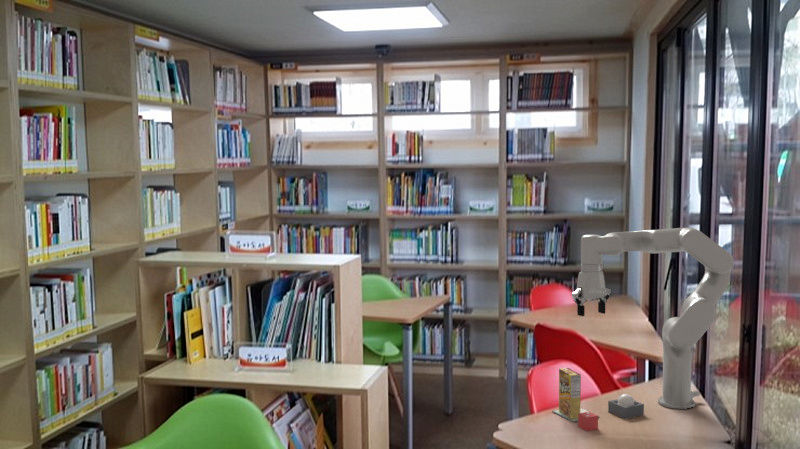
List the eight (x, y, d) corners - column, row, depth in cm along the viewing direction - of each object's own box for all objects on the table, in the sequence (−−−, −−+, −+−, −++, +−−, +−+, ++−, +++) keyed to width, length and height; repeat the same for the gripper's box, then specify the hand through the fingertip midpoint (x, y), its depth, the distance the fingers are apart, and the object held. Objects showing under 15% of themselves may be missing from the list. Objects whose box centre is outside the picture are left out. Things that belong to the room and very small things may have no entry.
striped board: (576, 407, 255) (576, 405, 254) (599, 417, 244) (599, 416, 244) (552, 412, 250) (552, 410, 250) (573, 422, 239) (573, 421, 239)
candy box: (558, 410, 250) (558, 368, 248) (569, 409, 251) (568, 367, 250) (570, 419, 241) (570, 375, 240) (581, 417, 242) (581, 374, 241)
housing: (626, 407, 253) (626, 397, 253) (643, 414, 245) (643, 404, 245) (608, 411, 249) (608, 401, 249) (625, 418, 242) (625, 408, 242)
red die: (588, 424, 237) (588, 411, 237) (597, 428, 233) (598, 415, 233) (578, 426, 235) (578, 413, 235) (587, 431, 231) (587, 417, 231)
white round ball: (626, 406, 251) (626, 390, 251) (637, 411, 246) (637, 395, 246) (614, 408, 249) (614, 393, 248) (625, 413, 244) (625, 397, 243)
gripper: (602, 265, 266) (602, 310, 267) (566, 268, 259) (566, 314, 260) (616, 267, 259) (616, 313, 260) (579, 271, 252) (579, 318, 253)
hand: (591, 314), depth 260 cm, fingers open, 9 cm apart
